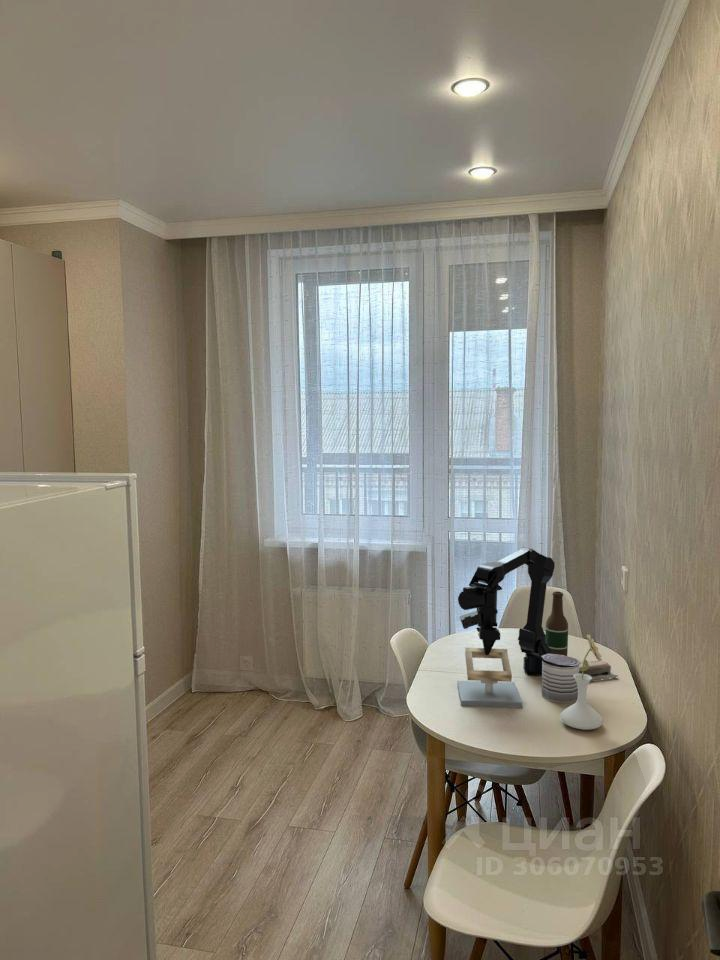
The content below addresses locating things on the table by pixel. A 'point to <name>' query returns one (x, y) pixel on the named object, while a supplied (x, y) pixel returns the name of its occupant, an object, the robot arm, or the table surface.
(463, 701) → the hook board
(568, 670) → the can
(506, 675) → the oak loop
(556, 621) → the beer bottle
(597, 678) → the packaged product
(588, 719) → the flower in vase
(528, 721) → the table surface
